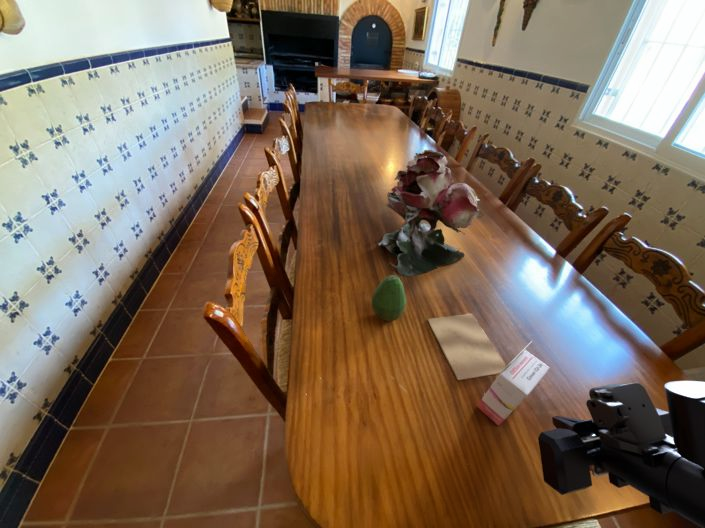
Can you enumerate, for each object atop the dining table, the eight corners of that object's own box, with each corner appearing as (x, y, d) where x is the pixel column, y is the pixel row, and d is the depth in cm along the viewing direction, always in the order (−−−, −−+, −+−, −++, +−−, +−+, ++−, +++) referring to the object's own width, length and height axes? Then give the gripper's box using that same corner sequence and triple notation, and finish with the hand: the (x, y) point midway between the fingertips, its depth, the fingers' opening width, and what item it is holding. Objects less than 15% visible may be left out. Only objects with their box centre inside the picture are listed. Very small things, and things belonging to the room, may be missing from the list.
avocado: (395, 301, 76) (403, 265, 69) (406, 325, 70) (417, 289, 63) (365, 305, 74) (370, 269, 67) (374, 330, 69) (381, 294, 61)
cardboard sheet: (509, 372, 62) (510, 371, 62) (457, 381, 60) (458, 379, 60) (471, 314, 74) (471, 313, 74) (427, 320, 72) (427, 318, 72)
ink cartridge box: (499, 428, 54) (536, 387, 44) (475, 406, 56) (505, 363, 47) (521, 399, 58) (560, 357, 49) (498, 380, 61) (530, 336, 51)
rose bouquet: (477, 254, 94) (516, 161, 75) (404, 282, 82) (429, 179, 63) (424, 216, 111) (445, 132, 92) (357, 234, 98) (365, 142, 79)
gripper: (739, 388, 32) (596, 356, 47) (598, 419, 28) (492, 374, 44) (760, 496, 31) (607, 429, 46) (617, 543, 27) (502, 453, 43)
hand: (554, 419), depth 45 cm, fingers closed
